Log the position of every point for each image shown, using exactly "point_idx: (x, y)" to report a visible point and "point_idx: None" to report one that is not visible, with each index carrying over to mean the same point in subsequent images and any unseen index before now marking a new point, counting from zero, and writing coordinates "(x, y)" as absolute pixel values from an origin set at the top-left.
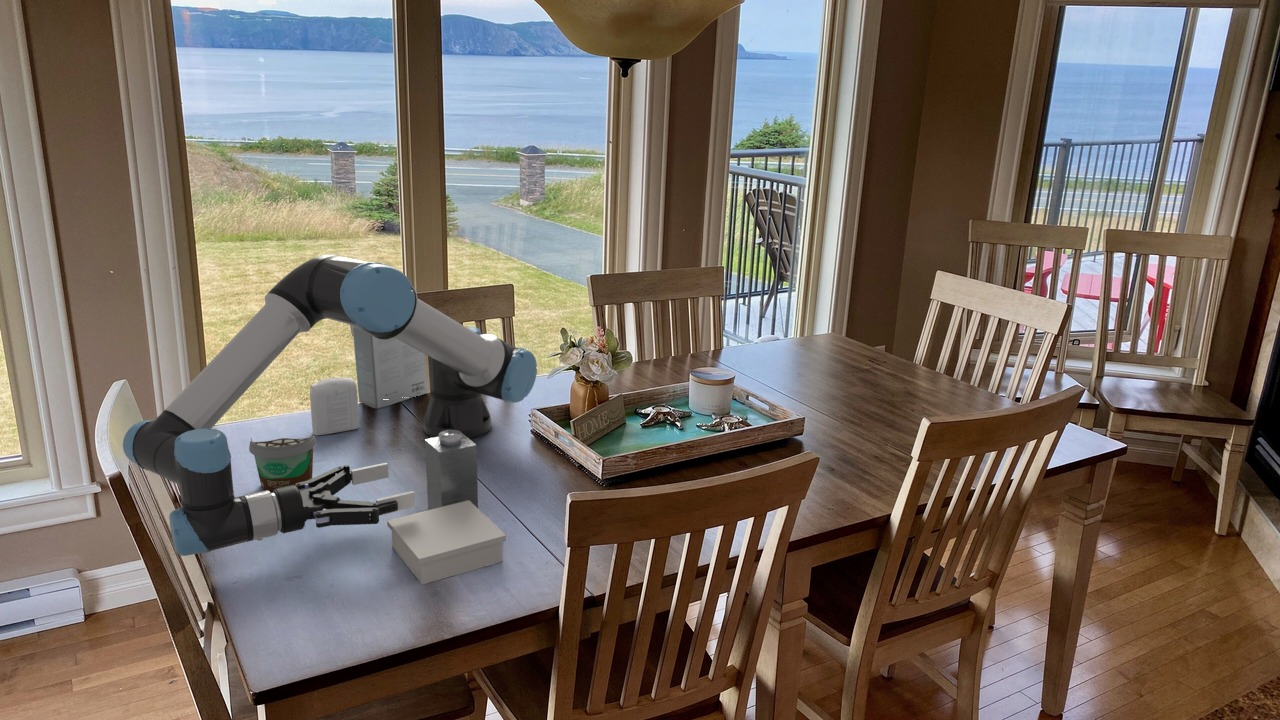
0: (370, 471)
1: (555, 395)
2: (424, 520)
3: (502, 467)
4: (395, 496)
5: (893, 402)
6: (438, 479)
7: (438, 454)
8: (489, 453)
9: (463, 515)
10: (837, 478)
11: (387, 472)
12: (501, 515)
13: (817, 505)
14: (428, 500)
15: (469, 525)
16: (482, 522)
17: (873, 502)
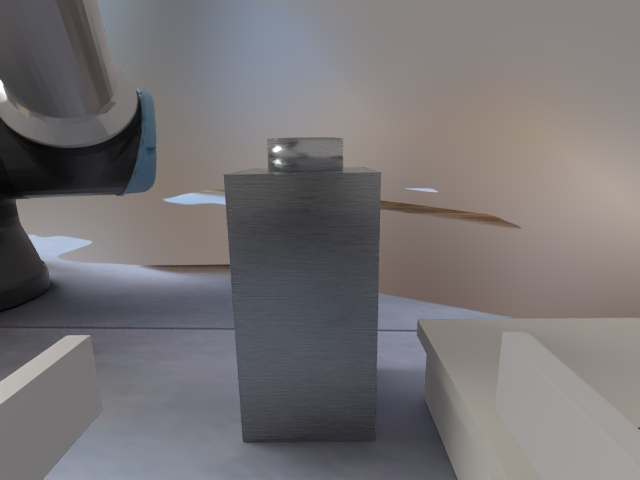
0: (8, 431)
1: (73, 239)
2: None
3: (191, 300)
4: (601, 401)
5: None
6: (356, 291)
7: (367, 184)
8: (120, 298)
9: None
10: (424, 213)
11: (95, 385)
12: (387, 342)
13: (470, 221)
14: (247, 411)
15: (614, 350)
16: (583, 329)
17: (472, 213)
